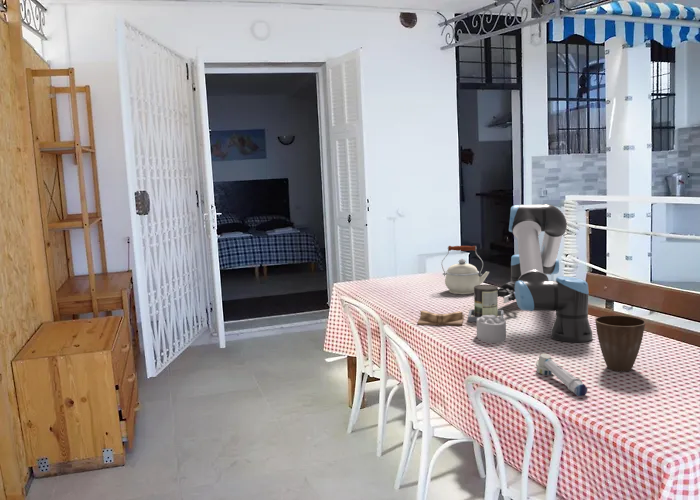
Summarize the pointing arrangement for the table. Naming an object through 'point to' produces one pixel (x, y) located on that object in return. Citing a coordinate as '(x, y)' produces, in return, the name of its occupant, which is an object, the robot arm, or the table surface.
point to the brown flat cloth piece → (441, 318)
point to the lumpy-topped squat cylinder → (491, 329)
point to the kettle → (463, 274)
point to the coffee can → (485, 300)
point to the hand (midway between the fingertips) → (490, 298)
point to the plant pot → (620, 340)
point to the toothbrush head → (560, 374)
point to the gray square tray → (474, 319)
